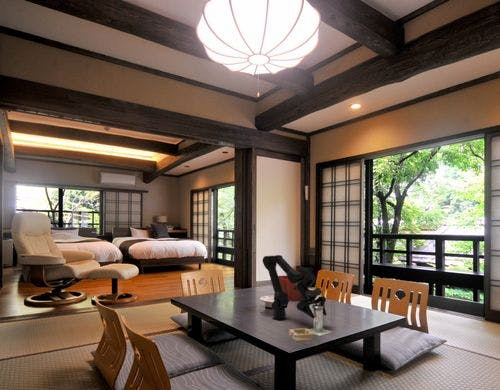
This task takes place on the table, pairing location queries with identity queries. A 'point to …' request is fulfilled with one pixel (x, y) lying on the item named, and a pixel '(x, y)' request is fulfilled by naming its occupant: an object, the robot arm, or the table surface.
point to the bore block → (301, 334)
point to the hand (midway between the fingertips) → (320, 316)
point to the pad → (321, 332)
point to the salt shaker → (318, 318)
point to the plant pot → (289, 289)
